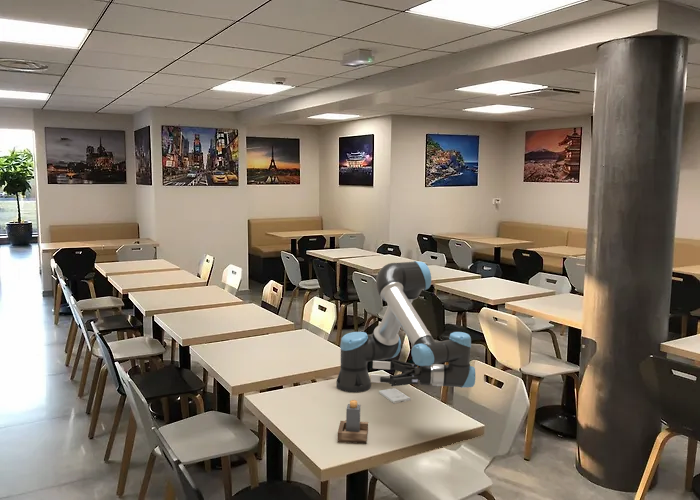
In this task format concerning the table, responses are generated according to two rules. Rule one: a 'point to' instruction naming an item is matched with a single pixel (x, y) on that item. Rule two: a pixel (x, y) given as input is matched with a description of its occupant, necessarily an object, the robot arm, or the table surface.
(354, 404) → the connector plug
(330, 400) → the table surface
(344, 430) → the holder
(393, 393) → the external hard drive
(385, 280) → the robot arm
